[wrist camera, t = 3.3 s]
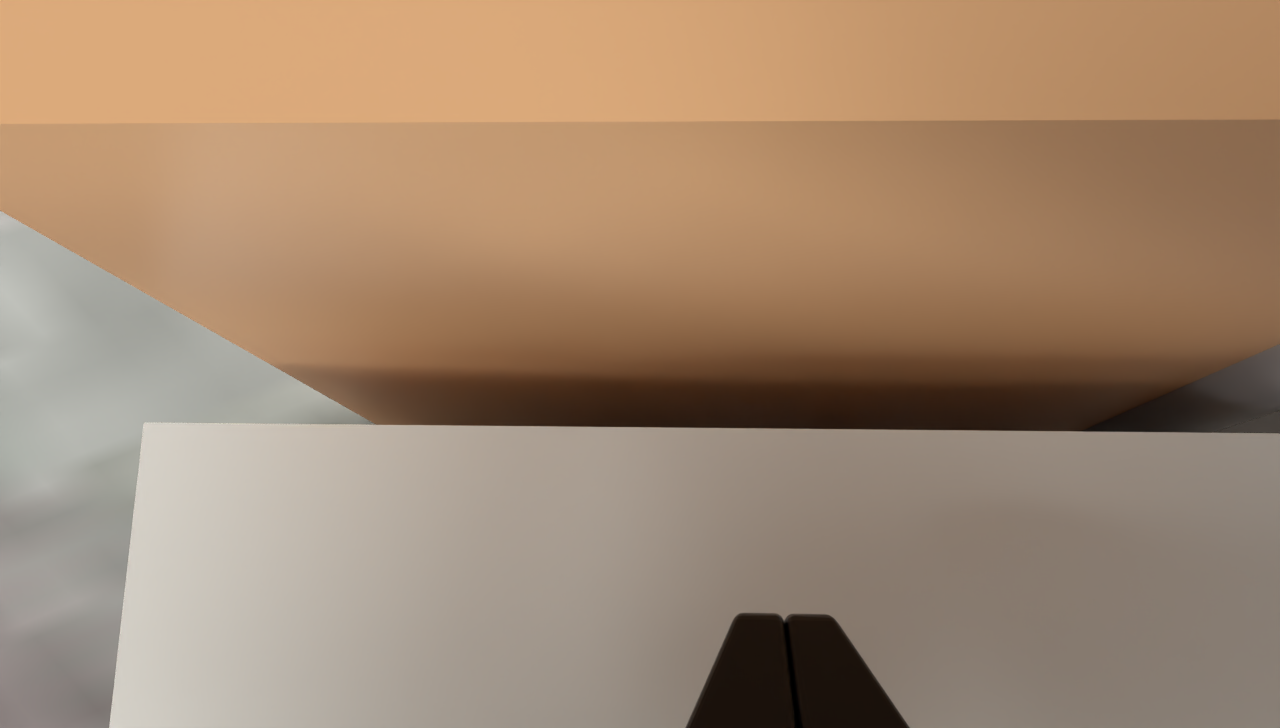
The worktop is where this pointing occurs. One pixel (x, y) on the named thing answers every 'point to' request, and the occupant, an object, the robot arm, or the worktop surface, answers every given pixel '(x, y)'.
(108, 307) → the worktop surface
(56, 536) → the worktop surface
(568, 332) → the tan flat square panel
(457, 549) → the white box
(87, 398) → the worktop surface
